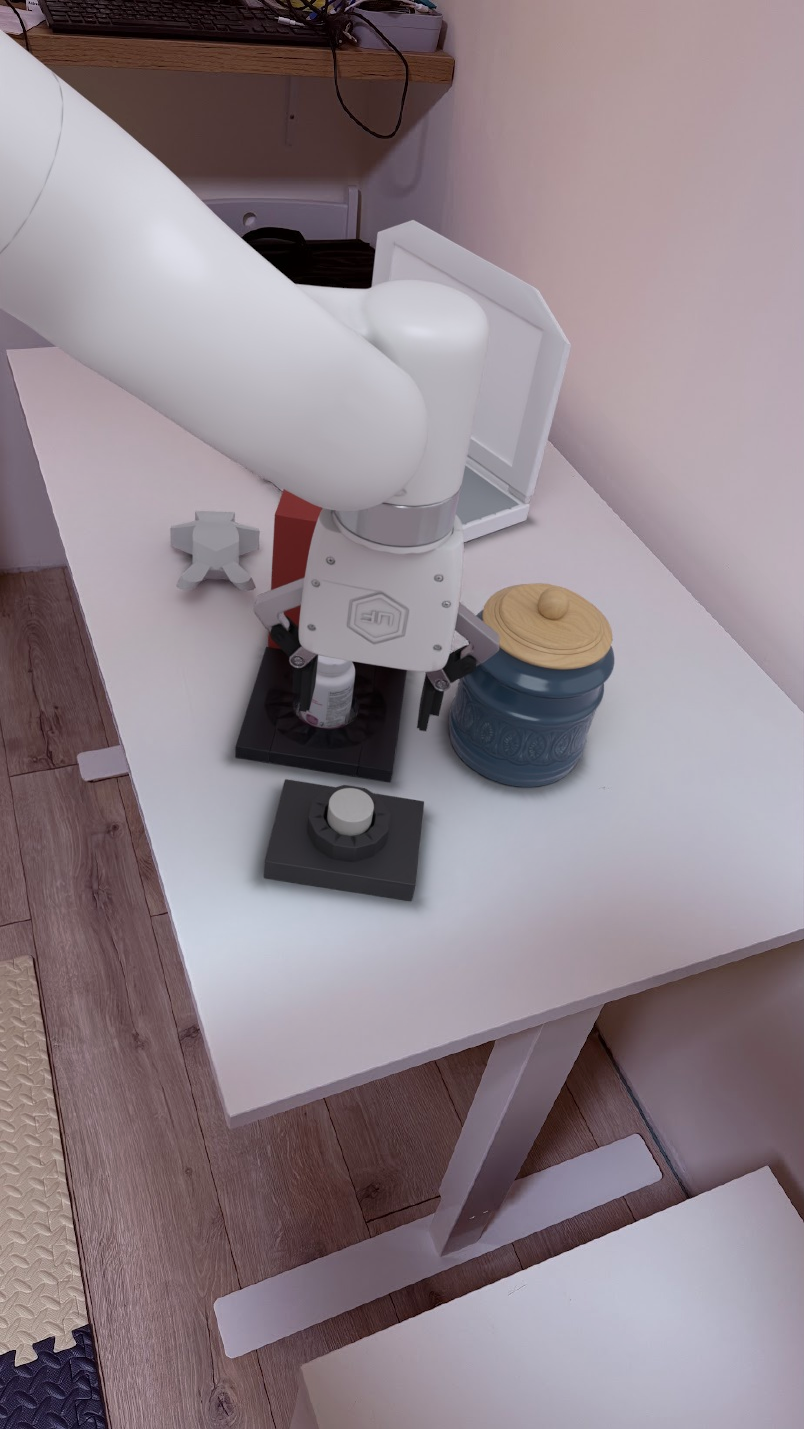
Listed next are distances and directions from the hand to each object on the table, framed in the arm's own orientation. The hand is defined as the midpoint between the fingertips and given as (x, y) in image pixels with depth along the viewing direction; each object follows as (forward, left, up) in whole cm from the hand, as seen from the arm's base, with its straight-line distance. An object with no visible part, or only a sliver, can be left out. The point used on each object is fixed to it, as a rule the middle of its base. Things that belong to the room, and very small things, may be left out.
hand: (365, 707), depth 73 cm
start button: (0, 0, -12) cm, 12 cm away
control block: (0, 0, -16) cm, 16 cm away
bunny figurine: (-19, +35, -16) cm, 43 cm away
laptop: (-5, +59, -16) cm, 61 cm away
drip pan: (-4, +15, -16) cm, 22 cm away
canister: (+14, +16, -16) cm, 27 cm away
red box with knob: (-4, +27, -16) cm, 32 cm away
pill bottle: (-4, +15, -16) cm, 22 cm away
